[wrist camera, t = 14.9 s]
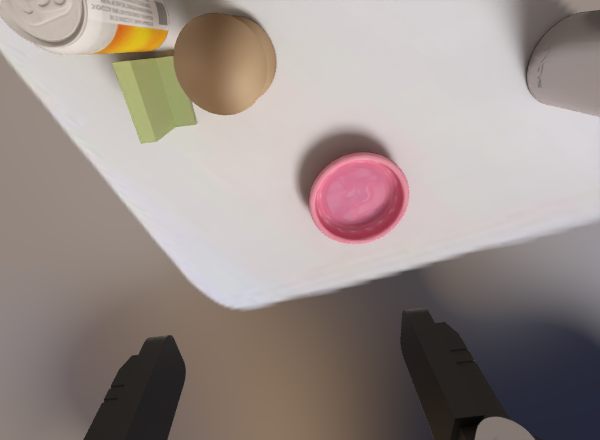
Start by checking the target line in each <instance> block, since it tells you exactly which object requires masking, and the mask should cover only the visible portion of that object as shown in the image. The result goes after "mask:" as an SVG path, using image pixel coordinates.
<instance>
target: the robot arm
mask: <svg viewBox="0 0 600 440" xmlns="http://www.w3.org/2000/svg"><path fill="white" fill-rule="evenodd" d="M527 81H528V87H529V90H530V92H531V94H532V95H533V96H534V98H535V99H537V100H538V101H539V102H541V103H544V104H546V105H551V106H555V107H559V108H564V109H568V110H572V111H576V112H581V113H585V114H589V115H594V116H598V117H600V10H597V11H589V12H580V13H577V14H574V15H571V16H569V17H567V18H565V19H563V20H561V21H560V22H559V23H557V24H556V25H555V26H553V27H552V28H551V29H550V30H549V31H548V32H547V33H546V34H545V35H544V36H543V38H542V39H541V41H540V42H539V43H538V45H537V46H536V48H535V50H534V52H533V54H532V56H531V59H530V62H529V66H528V72H527ZM400 344H401V350H402V355H403V358H404V361H405V363H406V366H407V369H408V371H409V374H410V376H411V379H412V382H413V384H414V387H415V390H416V392H417V395H418V398H419V400H420V403H421V406H422V408H423V411H424V413H425V416H426V419H427V421H428V424H429V426H430V429H431V432H432V435H433V437H434V440H542V439H540V438H537V437H535V436H533V435H531V434H530V433H529V432H528V431H526V430H525V429H524V428H523V427H521V426H520V425H518V424H517V423H515V422H514V421H513V420H512V419H511V418H510V417H509V416H508V415H507V413H506V412H505V410H504V409H503V407H502V405H501V404H500V402H499V400H498V399H497V397H496V395H495V394H494V392H493V390H492V389H491V387H490V385H489V384H488V382H487V380H486V379H485V377H484V375H483V374H482V372H481V371H480V369H479V367H478V365H477V364H475V361H474V359H473V357H472V355H471V354H470V352H469V351H468V350H467V347H466V345H465V344H464V342H463V340H462V339H461V337H460V336H459V334H458V333H457V332H456V331H454V330H453V329H452V328H451V327H450V326H449V325H447V324H446V323H445V322H441V323H435V322H434V321H433V319H432V317H431V315H430V313H429V312H428V310H427V309H426V308H418V309H409V310H403V312H402V321H401V337H400ZM185 375H186V368H185V363H184V361H183V358H182V356H181V354H180V352H179V349H178V347H177V345H176V342H175V340H174V338H173V337H172V336H171V335H168V336H159V337H150V338H147V339H146V341H145V342H144V344H143V346H142V348H141V351H140V353H139V355H134V356H131V357H130V359H129V360H128V361H127V362H126V363H125V364H124V365H123V366H122V367H121V368H120V369H119V371H118V373H117V375H116V377H115V379H114V381H113V383H112V385H111V389H109V391H108V393H107V395H106V397H105V398H104V403H102V404H101V406H100V408H99V410H98V412H97V414H96V416H95V418H94V420H93V422H92V424H91V426H90V428H89V430H88V432H87V434H86V436H85V438H84V440H167V439H168V436H169V432H170V429H171V426H172V422H173V419H174V415H175V412H176V409H177V405H178V402H179V399H180V395H181V392H182V389H183V385H184V381H185Z"/></svg>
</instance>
